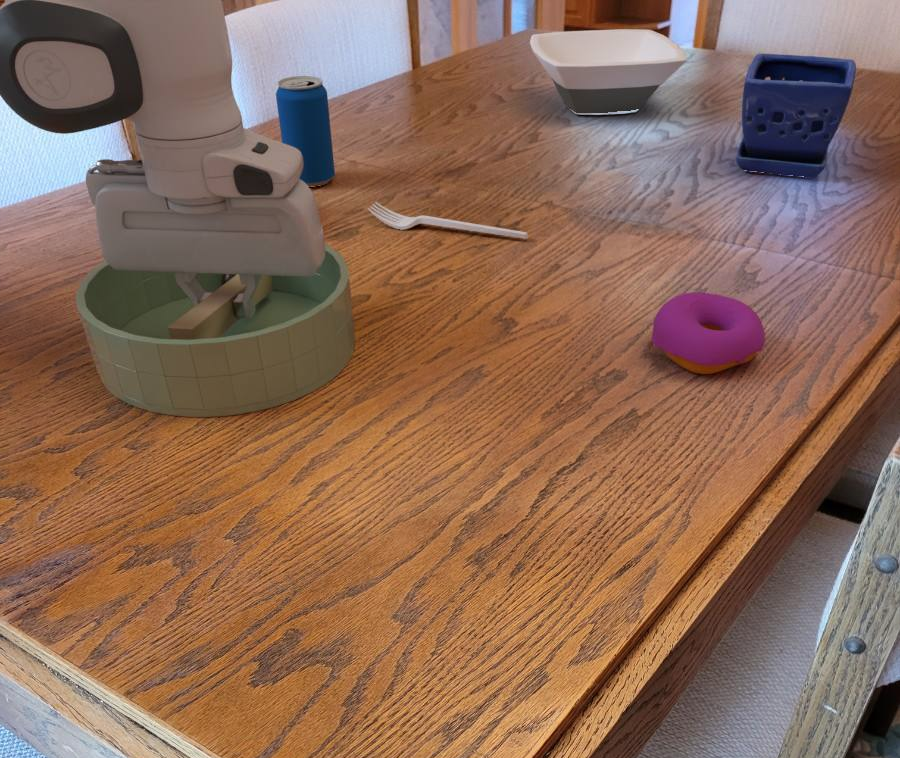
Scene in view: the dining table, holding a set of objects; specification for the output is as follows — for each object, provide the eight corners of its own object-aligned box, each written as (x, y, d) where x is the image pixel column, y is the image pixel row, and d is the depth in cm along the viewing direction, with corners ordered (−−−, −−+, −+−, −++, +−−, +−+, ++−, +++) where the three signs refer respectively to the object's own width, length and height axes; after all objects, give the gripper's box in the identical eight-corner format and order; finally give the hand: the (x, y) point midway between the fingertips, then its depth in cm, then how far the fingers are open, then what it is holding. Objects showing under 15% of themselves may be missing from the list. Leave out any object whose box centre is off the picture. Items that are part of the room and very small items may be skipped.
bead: (210, 278, 93) (225, 306, 94) (224, 267, 91) (240, 295, 92) (231, 270, 95) (246, 297, 96) (246, 259, 93) (261, 286, 93)
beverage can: (344, 183, 121) (335, 83, 113) (301, 193, 118) (288, 91, 110) (321, 170, 125) (310, 72, 117) (279, 179, 122) (265, 80, 114)
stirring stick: (197, 355, 79) (192, 328, 78) (172, 353, 80) (167, 327, 78) (273, 289, 93) (270, 266, 92) (252, 288, 94) (248, 265, 92)
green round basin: (78, 428, 78) (52, 354, 73) (116, 302, 95) (98, 236, 91) (362, 404, 80) (356, 331, 75) (348, 286, 98) (342, 220, 93)
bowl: (519, 90, 152) (521, 32, 146) (651, 84, 154) (658, 27, 148) (543, 130, 136) (546, 67, 131) (690, 123, 138) (699, 60, 132)
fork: (523, 246, 105) (524, 229, 103) (366, 225, 110) (365, 209, 109) (531, 235, 107) (532, 219, 106) (377, 215, 112) (376, 200, 111)
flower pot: (829, 186, 117) (856, 84, 109) (725, 176, 121) (744, 76, 112) (832, 154, 126) (857, 58, 118) (735, 146, 130) (753, 51, 121)
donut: (691, 390, 81) (700, 343, 78) (627, 342, 87) (632, 297, 84) (781, 363, 84) (793, 317, 81) (712, 319, 91) (721, 275, 88)
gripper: (64, 171, 75) (110, 325, 85) (302, 176, 73) (322, 334, 83) (94, 147, 80) (134, 296, 89) (319, 151, 78) (336, 303, 87)
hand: (226, 314), depth 86 cm, fingers closed on stirring stick, 2 cm apart
